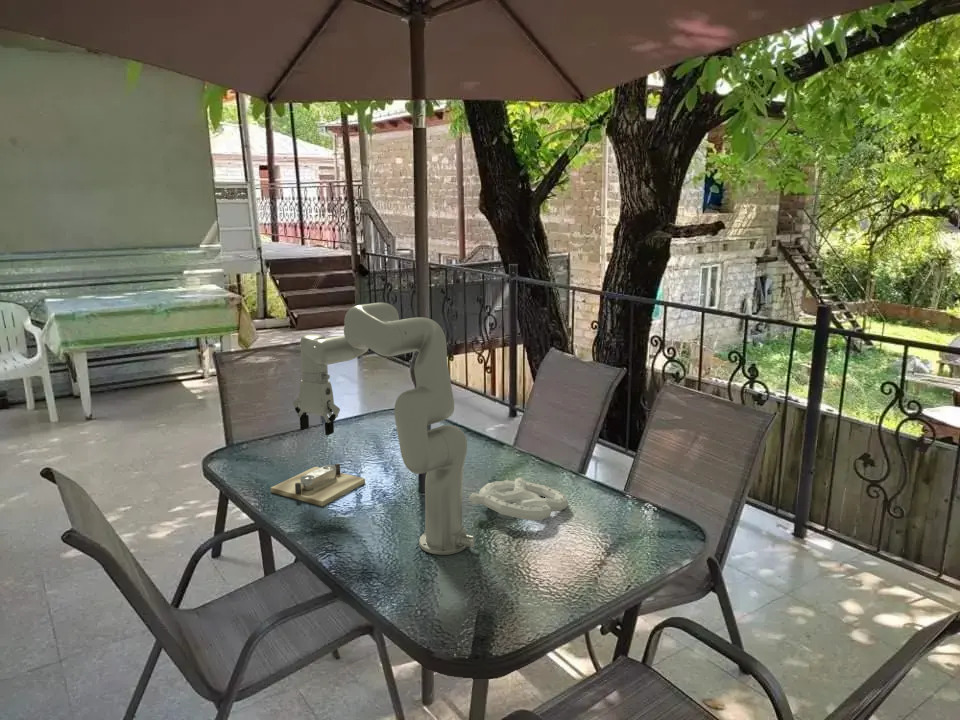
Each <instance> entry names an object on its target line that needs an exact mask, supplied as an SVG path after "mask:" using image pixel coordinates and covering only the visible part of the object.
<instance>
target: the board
mask: <svg viewBox="0 0 960 720" xmlns="http://www.w3.org/2000/svg"><path fill="white" fill-rule="evenodd" d="M334 465H335V466H336V478H335V479H334V480H332V481H330V482H328V483H326V484H324V485H322V486H320V487H318V488H316V489H314V490H312V491H302V490H301V477H302V476H304V475H306V474H309V473H311V472H313V471H315V470H317V469H319V468H321V467H319V466H313V467H312V468H309V469H307V470H305V471H303V472H300V473H299V474H296V475H295V476H293V477H290V478H288V479H286V480H284V481H282V482H280V483H278V484H275V485H273V486H271V487H270V492H271V493H273V494H276V495H279V496H284V497H287V498H290V499H295V500H299V501H300V502H301V501H302V502H306V503H309V504H312V505H316V506H320V507H323V506H326V505H327V504H330V503H331V502H333V501H335V500H336V499H339V498H340V497H342V496H344V495H346V494H348V493H349V492H352V491H354V489H357V488H358V487H361V486H362V485H364V484H366V478H364V477H360V476H356V475H351V474H348V473H344V472H341V464H340V463H334Z"/></svg>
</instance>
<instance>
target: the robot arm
mask: <svg viewBox="0 0 960 720" xmlns="http://www.w3.org/2000/svg"><path fill="white" fill-rule="evenodd" d="M399 316H400V315H399V312H398V310H397V308H396V307H394V306H393V304H390V303H387V302H373V303H363V304H358V305H355V306H352V307H350V308H349V310H348V311H347V312H346V313H345V316H344V321H343V322H344V323H343V324H344V327H343V335H339V336H332V337H326V336H324V335H322V334H316V333H315V334H314V333H313V334H305V335H303V336H302V337H301V338H300V340H299V341H300V363H301V380H300V385H299V391H298V392H299V394H298V397H299V398H297V399H295V400H293V401H292V405H293V407H294V410H295V412H296V413H297V417H298V418H299V428H300V431H304V430H306V429H309V428H310V420H309V419H310V417H309V415H315V416H316V415H317V416H321V417H323V418H324V420H325V422H324V434H325V436H329V435H332V434H334V433H335V423H334V421H336V419H337V418H338V417H339V415H340V411H341V408H340V407H339V406H337V405H336V404H335V401H334V399H335V398H334V392H333V387H332V383H331V381H330V378H331V376H330V374H329V372H328V366H329V365H332V364H333V365H334V364H337V363H344V362H348V361H351V360H354V359H357V358H358V357H360V356H362V355H363V354H365V353H366V352H368V351H369V350H371V351H372V352H374V353H376V354H378V355H379V356H384V357H394V356H398V355H404V354H408V353H409V354H410V353H412V352H418V354H417V356H416V359H415V363H414V367H413V368H414V369H413V372H414V373H413V374H414V377H415V385H416V386H415V387H416V388H412V389H408V390H406V391H404V392H402V393H400V395H398V397H397V398H396V400H395V404H394V411H393V413H394V420H395V425H396V432H397V438H398V443H399V444H398V445H399V449H400V454H401V458H402V461H403V463H404V465H405V467H406V468H407V469H408V471H410V472H411V473H413V474H415V475H416V474H417V475H422V474H425V473H426V474H425V482H424V483H425V484H424V495H425V496H424V500H425V501H424V509H425V511H424V513H425V514H424V517H425V518H424V519H425V520H424V522H425V523H424V528H425V530H424V533H423V534H422V535H421V536H420V537H419V540H418V541H419V542H418V544H419V547H420V548H421V549H422V550H423V551H425V552H427V553H429V554H433V555H438V556H448V555H454V554H458V553H460V552H463V551H464V550H465V549H467V548H472V549H473V548H474V547H475V536H474V535H471V534H467V528H466V527H465V526H463V492H464V491H463V490H464V489H463V488H464V485H463V483H464V482H463V481H464V467H465V461H466V457H467V452H468V440H467V437H466V434H465V433H464V432H463V430H462V429H461V428H459V427H458V426H456V425H453V424H452V425H451V424H448V425H447V424H445V425H441V426H437V427H434V428H431V429H428V426H430V425H433V424H436V423H440V422H443V421H445V420H447V419H449V418H450V417H451V416H452V415H453V414H454V411H455V401H454V400H455V399H454V394H453V387H452V383H451V382H452V381H451V377H450V371H449V366H448V365H449V364H448V349H447V347H448V346H447V338H446V335H445V332H444V330H443V328H442V327H441V326H440V325H439V323H438V322H437V321H435V320H433V319H431V318H428V317H422V316H421V317H420V316H417V317H409V318H404V319H403V318H402V319H400V317H399ZM308 414H309V415H308Z"/></svg>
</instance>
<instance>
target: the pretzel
mask: <svg viewBox="0 0 960 720" xmlns="http://www.w3.org/2000/svg"><path fill="white" fill-rule="evenodd" d="M541 496H543V497H541ZM544 497H545V498H544ZM468 498H469V502H470V503H471V504H472V505H483V506H485V507H486V508H489V509H490V510H493V511H494V512H497V513H498V514H501V515H503V516H508V517H511V518H513V517H514V518H516V519H521V520H527V521H529V520H531V521H533V520H534V521H541V520H544V519H547V518H550V516H551V515H552V512H555V513H556V512H560V511H562V510H565V509H567V507H568V506H569V501H568V498H567V497H566V496H565V494H564V493H563V492H560V491H558V489H556V488H554V489H553V488H551V487H549V486H547V485H542V483H539V484H538V483H534V482H529V481H526V480H525V479H524V478H522V477H517V478H515V479H514V480H508V479H505V480H502V481H501V480H500V481H498V480H495V481H493V482H488V483H486V484H485V485H484V486H483V487H481V489H480V490H479V491H478V493H477V492H471V494H470V495H469V497H468Z"/></svg>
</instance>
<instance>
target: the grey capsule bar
mask: <svg viewBox="0 0 960 720" xmlns="http://www.w3.org/2000/svg"><path fill="white" fill-rule="evenodd" d="M335 478H336V466H335V464H327V465H323V466H322V467H320V468H319V469H317V470H315V471H313V472H311V473H309V474H306V475H304V476H302V477H301V490H302V491H312V490H314V489H316V488H318V487H320V486H322V485H324V484H326V483H328V482H330V481H332V480H334V479H335Z"/></svg>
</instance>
